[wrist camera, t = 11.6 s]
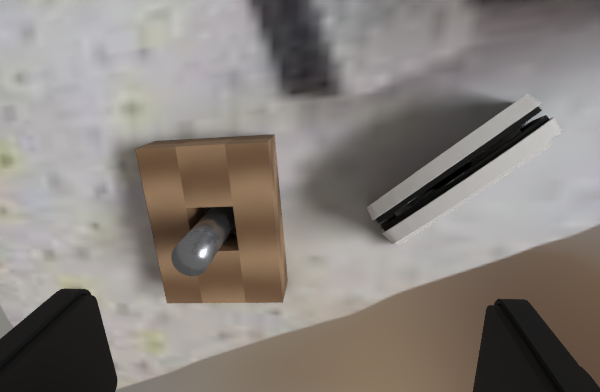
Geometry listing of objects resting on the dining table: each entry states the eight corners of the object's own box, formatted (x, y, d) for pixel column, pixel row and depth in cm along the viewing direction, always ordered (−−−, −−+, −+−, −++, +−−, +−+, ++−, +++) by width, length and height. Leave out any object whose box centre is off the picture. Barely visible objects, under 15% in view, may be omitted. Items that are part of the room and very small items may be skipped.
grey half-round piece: (395, 245, 38) (388, 267, 29) (368, 208, 39) (352, 217, 30) (549, 144, 34) (600, 130, 24) (515, 104, 35) (552, 75, 25)
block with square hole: (155, 141, 37) (135, 149, 33) (274, 134, 36) (267, 141, 32) (182, 282, 42) (167, 303, 38) (287, 281, 41) (282, 302, 37)
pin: (208, 201, 39) (168, 242, 29) (237, 200, 38) (205, 241, 29) (212, 227, 40) (174, 276, 30) (240, 227, 39) (210, 276, 30)
